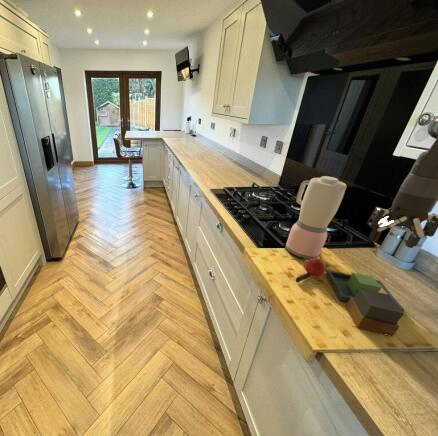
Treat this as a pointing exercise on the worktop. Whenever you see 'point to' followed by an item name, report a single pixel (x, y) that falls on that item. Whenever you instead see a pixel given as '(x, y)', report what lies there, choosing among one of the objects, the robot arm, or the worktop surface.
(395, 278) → the worktop surface
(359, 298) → the charcoal block
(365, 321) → the walnut block
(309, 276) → the kitchen knife
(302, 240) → the blender
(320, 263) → the onion
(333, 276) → the tray
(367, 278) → the green block
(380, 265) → the worktop surface
